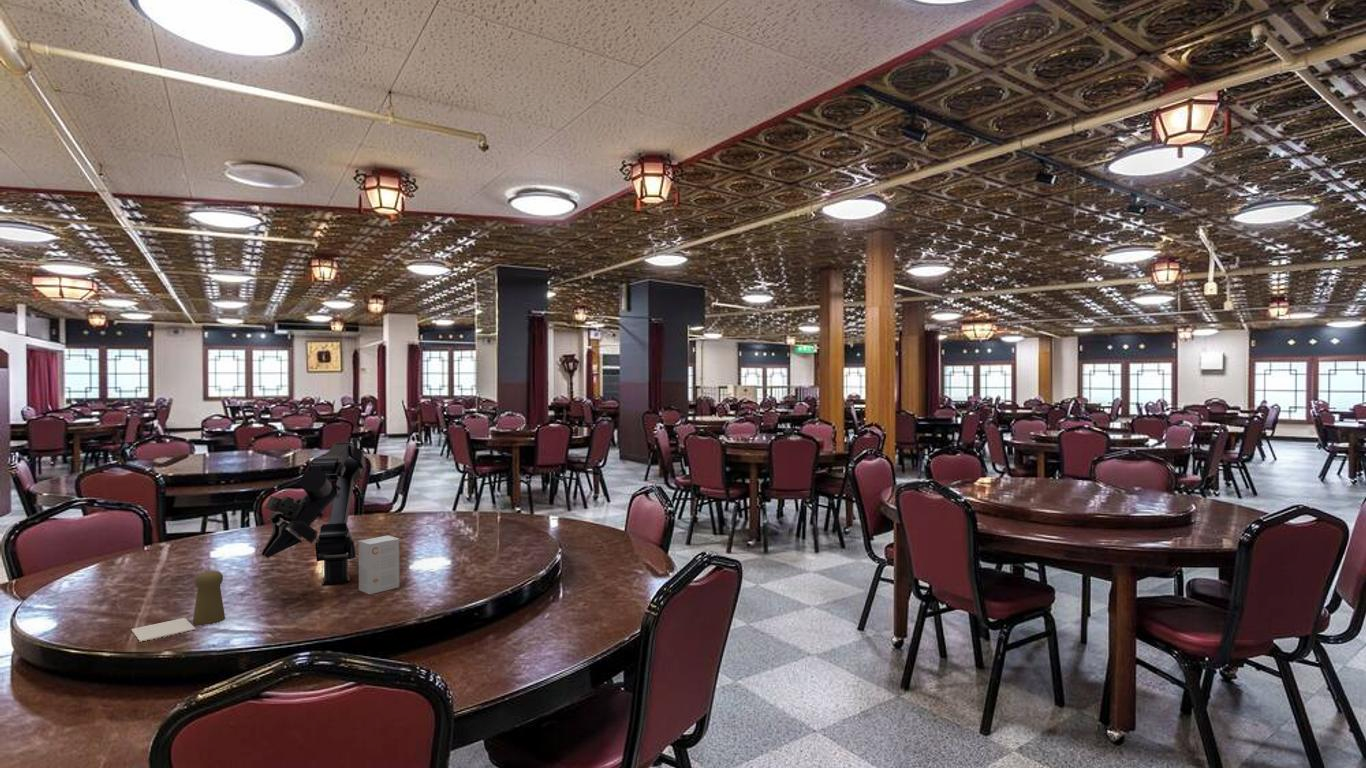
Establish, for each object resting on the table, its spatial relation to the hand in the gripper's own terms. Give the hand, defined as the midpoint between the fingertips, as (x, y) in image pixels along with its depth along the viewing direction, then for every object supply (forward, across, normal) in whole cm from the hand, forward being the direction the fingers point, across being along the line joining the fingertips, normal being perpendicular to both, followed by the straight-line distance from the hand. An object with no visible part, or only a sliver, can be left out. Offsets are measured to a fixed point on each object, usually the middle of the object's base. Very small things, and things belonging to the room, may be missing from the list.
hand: (264, 555), depth 159 cm
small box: (-9, +5, +27) cm, 29 cm away
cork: (+17, 0, +1) cm, 17 cm away
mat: (+22, 0, -5) cm, 23 cm away
